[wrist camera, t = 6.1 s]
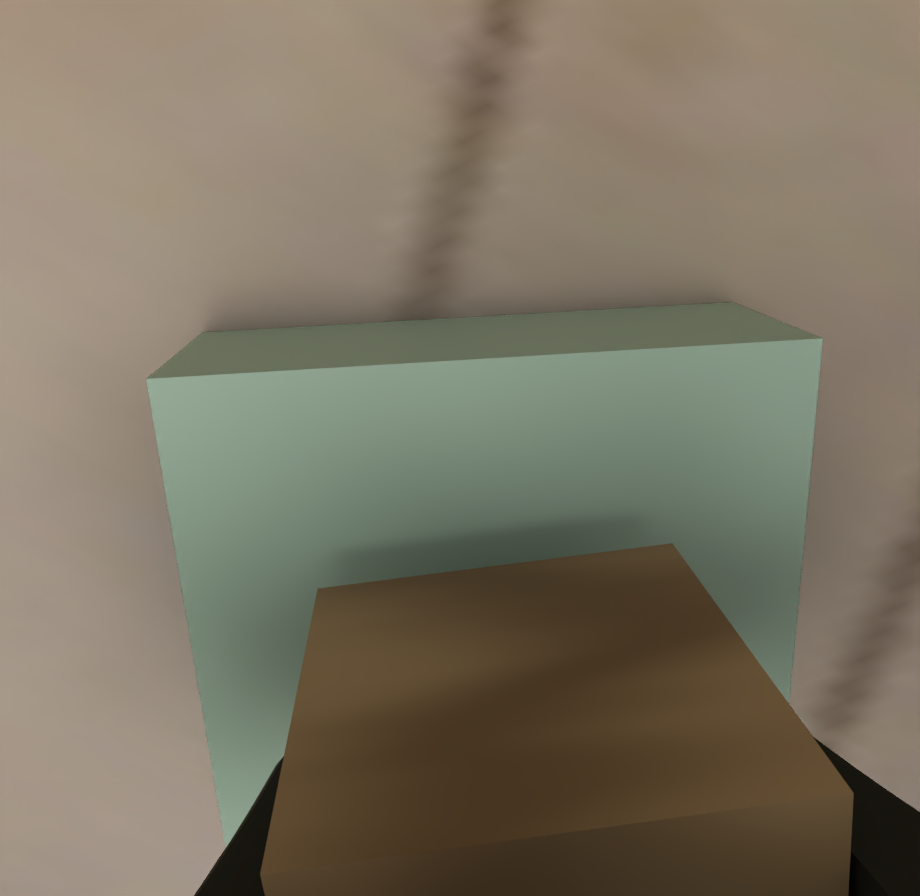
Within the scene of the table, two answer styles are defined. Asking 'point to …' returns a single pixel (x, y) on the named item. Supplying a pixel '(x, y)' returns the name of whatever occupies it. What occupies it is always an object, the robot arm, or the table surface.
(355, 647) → the walnut block
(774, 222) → the table surface
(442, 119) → the table surface
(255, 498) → the riser block
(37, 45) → the table surface
